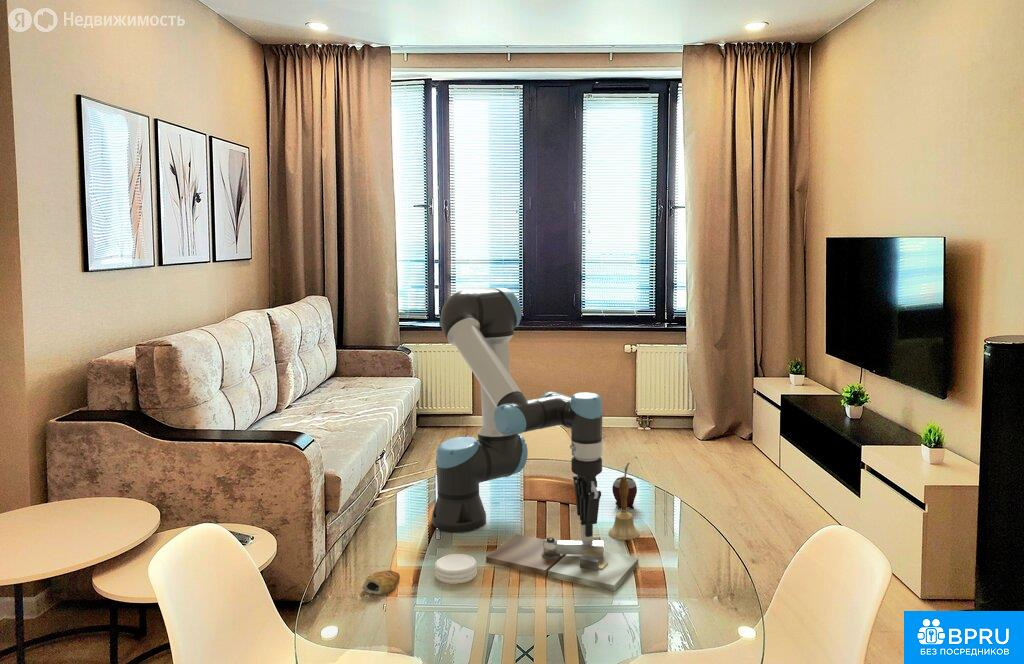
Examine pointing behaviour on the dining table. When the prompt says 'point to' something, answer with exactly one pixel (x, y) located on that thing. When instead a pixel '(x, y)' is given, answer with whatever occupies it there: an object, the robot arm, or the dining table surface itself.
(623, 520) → the hand bell
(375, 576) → the pastry
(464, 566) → the coaster
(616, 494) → the mate gourd
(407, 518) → the dining table surface
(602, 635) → the dining table surface
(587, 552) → the swing bar
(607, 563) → the door board
